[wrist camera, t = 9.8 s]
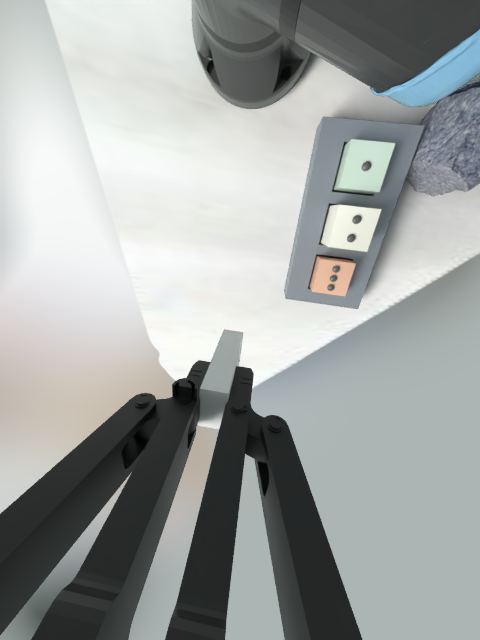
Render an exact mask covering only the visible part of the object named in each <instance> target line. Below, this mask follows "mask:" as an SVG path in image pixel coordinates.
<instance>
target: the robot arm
mask: <svg viewBox="0 0 480 640" xmlns="http://www.w3.org/2000/svg"><path fill="white" fill-rule="evenodd" d="M192 28H193V35H194V41H195V46H196V50H197V53H198V57H199V60H200V62H201V65H202V67H203V69H204V71H205V73H206V75H207V77H208V79H209V81H210V83H211V84H212V86H213V87H214V89H215V90H216V91H217V92H218V93H219V94H220V95H221V96H222V97H223V98H224V99H225V100H226V101H228V102H229V103H231V104H233V105H235V106H238V107H241V108H246V109H257V108H262V107H265V106H268V105H270V104H272V103H274V102H276V101H278V100H279V99H280V98H282V97H283V96H284V95H285V94H286V93H287V92H288V91H289V90H290V89H291V88H292V87H293V86H294V85H295V83H296V82H297V80H298V79H299V77H300V76H301V74H302V72H303V71H304V69H305V67H306V64H307V62H308V60H309V57H310V54H311V53H313V54H315V55H317V56H318V57H320V58H322V59H324V60H325V61H327V62H329V63H330V64H332V65H334V66H336V67H337V68H339V69H341V70H343V71H344V72H346V73H348V74H349V75H351V76H353V77H355V78H356V79H358V80H360V81H362V82H363V83H365V84H367V85H368V86H370V87H371V88H370V89H371V91H372V92H373V93H374V94H375V95H377V96H383V97H384V96H387V97H389V98H391V99H393V100H395V101H397V102H399V103H401V104H403V105H405V106H408V107H421V106H427V105H430V104H432V103H435V102H437V101H439V100H441V99H443V98H445V97H446V96H448V95H450V94H451V93H453V92H454V91H456V90H457V89H459V88H460V87H462V86H463V85H465V84H466V83H467V82H469V81H470V80H471V79H473V78H474V77H475V76H476V75H478V74H479V73H480V0H192ZM242 338H243V332H237V331H231V330H224V331H223V333H222V336H221V338H220V341H219V343H218V346H217V348H216V350H215V353H214V355H213V358H212V360H211V362H206V361H200V360H199V361H197V362H196V363H195V364H193V366H192V368H191V371H190V372H189V374H188V376H187V378H183V379H179V380H177V381H175V382H174V383H173V384H172V388H173V389H172V390H173V391H172V392H173V397H171V398H168V399H159V400H156V398H155V396H153V395H152V394H148V393H143V394H142V393H141V394H138V395H136V396H134V397H133V398H132V399H130V400H129V401H128V402H127V403H126V404H125V405H124V406H123V407H121V408H120V409H119V410H118V411H117V412H116V413H115V414H113V415H112V416H111V417H110V418H109V419H108V420H107V421H105V423H103V424H102V425H101V426H100V427H99V428H97V429H96V430H95V431H94V432H93V433H92V434H91V435H90V436H88V437H87V438H86V439H85V440H84V441H83V442H82V443H80V444H79V445H78V446H77V447H76V448H75V449H74V450H72V451H71V452H70V453H69V454H68V455H67V456H66V457H64V458H63V460H61V461H60V462H59V463H58V464H57V465H55V466H54V467H53V468H52V469H51V470H50V471H49V472H47V473H46V474H45V475H44V476H43V477H42V478H41V479H39V480H38V481H37V482H36V483H35V484H34V485H33V486H32V487H30V488H29V489H28V490H27V491H26V492H25V493H24V494H23V495H21V496H20V497H19V498H18V499H17V500H16V501H14V502H13V503H12V504H11V505H10V506H9V507H8V508H7V509H6V510H4V511H3V512H2V513H1V514H0V635H1V634H2V632H3V631H4V630H5V629H6V628H7V626H8V625H9V624H10V623H11V621H12V620H13V619H14V618H15V616H16V615H17V614H18V613H19V611H20V610H21V609H22V608H23V606H24V605H25V604H26V603H27V601H28V600H29V599H30V598H31V596H32V595H33V594H34V593H35V591H36V590H37V589H38V588H39V586H40V585H41V584H42V583H43V582H44V580H45V579H46V577H48V575H49V574H50V573H51V572H52V570H53V569H54V568H55V567H56V565H57V564H58V563H59V561H60V560H61V559H62V558H63V557H64V555H65V554H66V553H67V552H68V550H69V549H70V548H71V547H72V545H73V544H74V543H75V542H76V540H77V539H78V538H79V537H80V535H81V534H82V533H83V532H84V530H85V529H86V528H87V527H88V525H89V524H90V523H91V521H92V520H93V519H94V518H95V517H96V516H97V514H98V513H99V512H100V511H101V509H102V508H103V507H104V506H105V504H106V503H107V502H108V501H109V499H110V498H111V497H112V496H113V494H114V493H115V492H116V491H117V489H118V488H119V487H120V486H121V484H122V483H123V482H124V481H125V480H126V478H127V477H128V476H129V475H130V473H131V472H132V473H131V475H130V477H129V479H128V481H127V483H126V484H125V486H124V488H123V490H122V492H121V494H120V496H119V497H118V500H117V501H116V503H115V505H114V507H113V509H112V510H111V512H110V514H109V516H108V518H107V520H106V522H105V523H104V525H103V527H102V529H101V531H100V533H99V535H98V537H97V538H96V541H95V542H94V544H93V546H92V548H91V550H90V552H89V553H88V555H87V557H86V559H85V561H84V563H83V564H82V566H81V568H80V570H79V572H78V574H77V575H76V577H75V578H74V580H73V581H72V582H71V583H70V584H69V585H67V586H66V587H65V588H64V589H63V590H62V591H61V592H60V593H59V594H58V596H57V597H56V599H55V600H54V601H53V603H52V605H51V606H50V608H49V610H48V611H47V613H46V614H45V616H44V618H43V620H42V622H41V623H40V625H39V627H38V629H37V631H36V632H35V634H34V636H33V638H32V639H31V640H128V638H129V633H130V627H131V624H132V620H133V617H134V614H135V611H136V608H137V605H138V602H139V599H140V596H141V593H142V590H143V587H144V584H145V581H146V579H147V575H148V573H149V570H150V567H151V564H152V561H153V558H154V555H155V552H156V549H157V546H158V543H159V540H160V537H161V534H162V531H163V528H164V526H165V523H166V520H167V517H168V514H169V511H170V508H171V505H172V502H173V499H174V496H175V493H176V490H177V487H178V485H179V482H180V479H181V476H182V473H183V470H184V467H185V464H186V461H187V458H188V455H189V452H190V449H191V446H192V444H193V441H194V437H195V435H196V426H197V423H198V421H199V426H204V427H210V428H215V429H219V433H218V437H217V441H216V445H215V449H214V453H213V457H212V461H211V465H210V469H209V474H208V478H207V482H206V486H205V490H204V494H203V498H202V502H201V507H200V510H199V514H198V518H197V522H196V526H195V530H194V535H193V539H192V543H191V547H190V551H189V555H188V559H187V563H186V567H185V571H184V575H183V579H182V584H181V587H180V592H179V596H178V599H177V603H176V606H175V609H174V612H173V615H172V618H171V621H170V624H169V627H168V631H167V635H166V639H165V640H225V632H226V631H225V630H226V617H227V608H228V598H229V590H230V581H231V572H232V563H233V555H234V546H235V537H236V528H237V520H238V511H239V502H240V492H241V485H242V476H243V467H244V458H245V454H247V455H248V456H250V457H252V458H254V459H255V464H256V470H257V477H258V482H259V488H260V494H261V500H262V506H263V512H264V518H265V524H266V529H267V536H268V542H269V548H270V554H271V560H272V565H273V572H274V577H275V584H276V589H277V595H278V601H279V607H280V613H281V619H282V624H283V631H284V637H285V640H362V637H361V634H360V631H359V628H358V626H357V623H356V620H355V617H354V614H353V611H352V608H351V606H350V603H349V600H348V597H347V594H346V591H345V588H344V585H343V582H342V580H341V577H340V574H339V571H338V568H337V565H336V562H335V559H334V557H333V554H332V551H331V548H330V545H329V542H328V540H327V536H326V533H325V531H324V528H323V525H322V522H321V519H320V516H319V514H318V511H317V507H316V505H315V502H314V499H313V496H312V493H311V490H310V487H309V484H308V482H307V479H306V476H305V473H304V470H303V467H302V464H301V461H300V458H299V456H298V453H297V450H296V447H295V444H294V441H293V438H292V435H291V433H290V430H289V427H288V425H287V423H286V421H285V420H283V419H282V418H281V417H279V416H275V415H270V416H267V417H265V418H264V417H262V416H260V415H258V414H256V413H255V412H254V411H253V409H252V408H251V404H250V401H251V392H252V384H253V375H254V374H253V372H252V369H251V368H245V367H239V361H240V354H241V346H242Z"/></svg>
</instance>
